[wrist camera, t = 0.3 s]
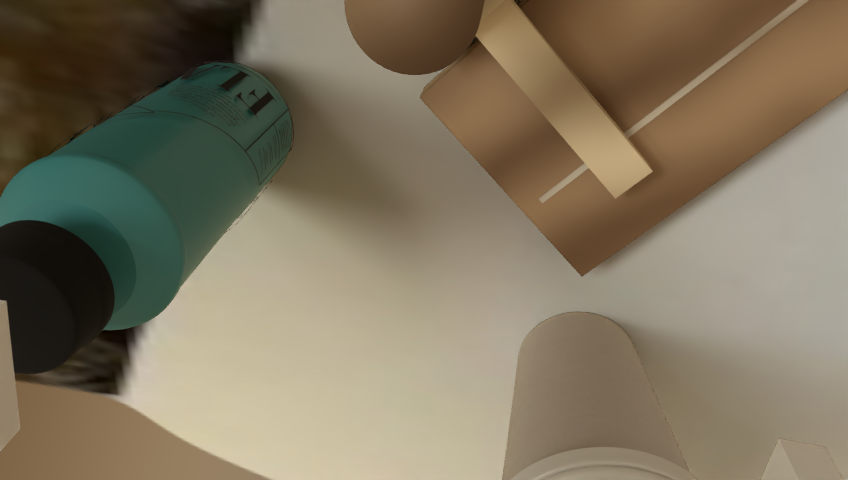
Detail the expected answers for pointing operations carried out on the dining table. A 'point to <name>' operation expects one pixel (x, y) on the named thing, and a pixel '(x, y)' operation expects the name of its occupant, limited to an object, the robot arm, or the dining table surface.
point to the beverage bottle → (133, 208)
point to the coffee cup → (586, 408)
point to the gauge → (519, 56)
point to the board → (646, 104)
